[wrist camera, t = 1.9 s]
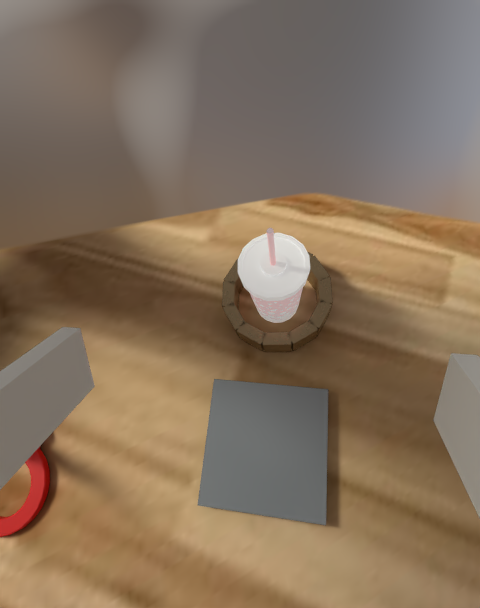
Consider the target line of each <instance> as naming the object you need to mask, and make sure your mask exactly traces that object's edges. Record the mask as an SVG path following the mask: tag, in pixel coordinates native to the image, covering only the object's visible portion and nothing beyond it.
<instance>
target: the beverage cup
mask: <svg viewBox="0 0 480 608" xmlns="http://www.w3.org/2000/svg"><path fill="white" fill-rule="evenodd" d="M309 272H310V258H309V254H308V252H307V251H306V249H305V247H304V245H303V244H302V243H300V242H299V241H298V240H296V239H295V238H294V237H292V236H289V235H285V234H282V233H274V232H273V229H272V228H268V229H267V234H264V235H261V236H259V237H257V238H254V239H252V240H251V241H250V242H249V243H248V244H247V245H246V246H245V247H244V248H243V250H242V252H241V254H240V256H239V258H238V275H239V277H240V279H241V281H242V284H243V286H244V288H245V289H246V290H247V291H249V292H250V295H251V297H252V299H253V301H254V304H255V306H256V308H257V310H258V312H259V314H260V315H261V316H262V317H263V318H264V319H265V320H267V321H270V322H273V323H278V322H284V321H286V320H289V319H290V318H291V317H292V316H293V315H294V314H295V313H296V310H297V308H298V305H299V301H300V297H301V293H302V289H303V286H304V285H305V283H306V280H307V278H308V275H309Z"/></svg>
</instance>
